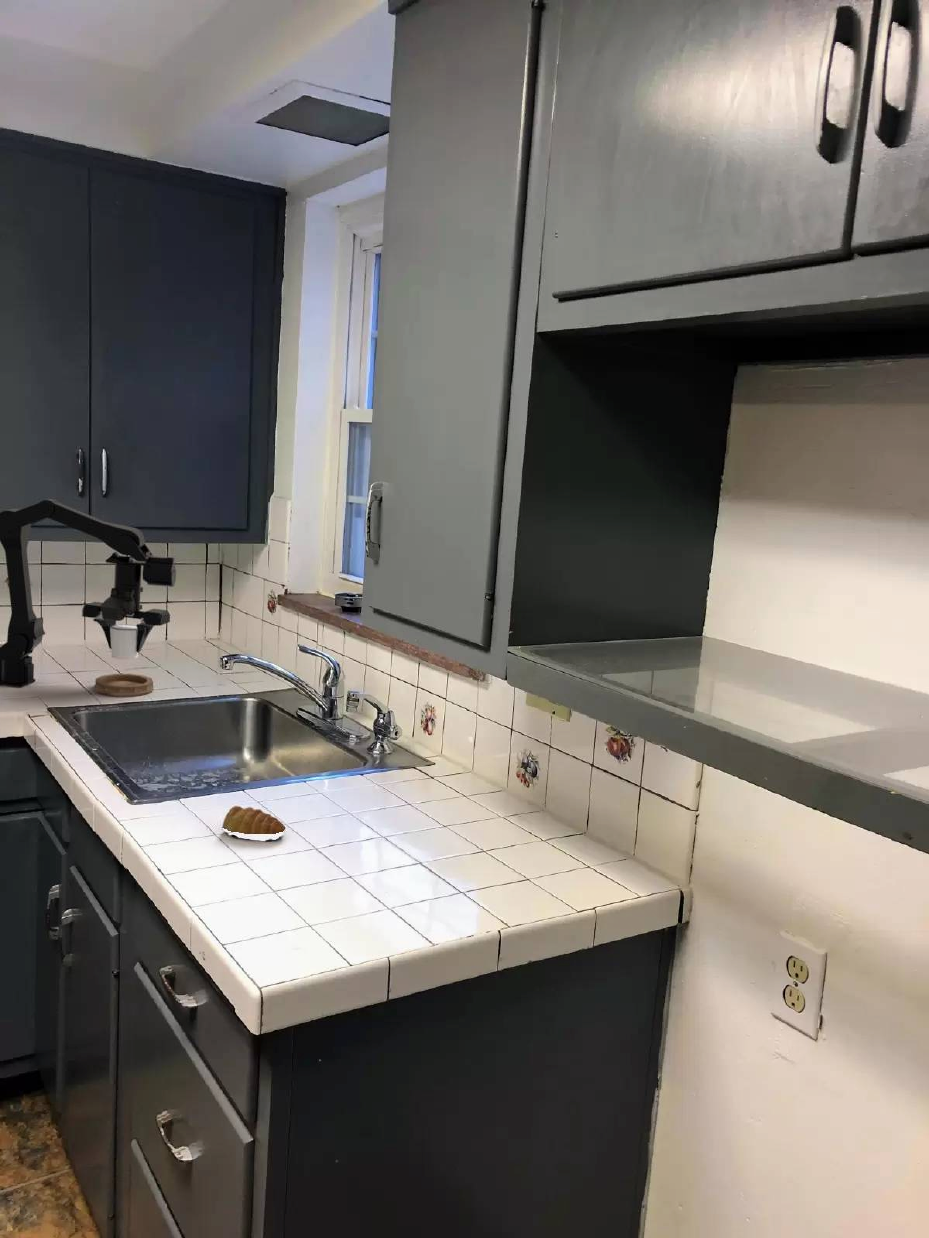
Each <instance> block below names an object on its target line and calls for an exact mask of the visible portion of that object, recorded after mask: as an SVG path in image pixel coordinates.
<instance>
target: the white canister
mask: <svg viewBox="0 0 929 1238" xmlns="http://www.w3.org/2000/svg"><path fill="white" fill-rule="evenodd" d="M137 636H138V629H137V626H136V625H133V624H116V625H113V626H111V627H110V637H111V649H110V650H111V651H110V653H111V658H113V659H118V660H134V659H138V656H139V652H137Z"/></svg>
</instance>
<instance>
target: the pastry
mask: <svg viewBox="0 0 929 1238" xmlns="http://www.w3.org/2000/svg"><path fill="white" fill-rule="evenodd" d="M222 828H224V829H227V830H228V831H231V832H239V833H244V834H276V833H279V832H283V831H284V830H286V826H285V825H284V823H282V822H281V821H280V820H279V819H278V818H277V817H274V816H272V815H271V814H270V813H266V812H263V811H262V809H259V808H258V809H254V808H253V807H250V806H248V807H246V808H243V807H241V806H238V805H234V806H232V807H231V808H230V809H229V811H228V812H227V813H226V815H225V818H224V819H223V823H222V827H221V829H222ZM284 832H285V831H284Z"/></svg>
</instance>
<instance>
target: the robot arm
mask: <svg viewBox="0 0 929 1238" xmlns="http://www.w3.org/2000/svg"><path fill="white" fill-rule="evenodd" d="M46 519H50V520H52V521H55V522H56V523H60V524H62V525H64V526H68V527H70V528H72V529H74V530H77V531H79V532H81V533H84V534H87V535H89V536H91V537H94V538H97V539H98V540H100V542H103V544H105V545H107V547H110V548H111V549H112V550H114V552H112V553H111V555H110V556H109V557H108V558H106V560H105V563H107V564H114V586H113V587H111V590H110V595H109V597H107V598H106V599H105V600H104V601H103V602H101V601H92V602H89V603H85V604H84V606H82V610H81V611H82V613H81V616H82V617H83V618H91V619H92V621H93V622H95V623H98V625H100V627H101V629H102V631H103V633H104V636H105V639H106V641H107V645H108V648H109V649H110V650H111V637H110V627H111V626H113V625H117V622H119V621H121V622H122V621H123V620H124V619H125V618H128V619H134V620H135V619H137V620H140V623H136V625H135V626H137V629H138V636H137V652H138V653H140V652H142V648H143V646H144V645H145V643H146V640H147V638H148V636H149V635H150V633H151V632H152V630H153V628H154V627H156V626H160V627H161V626H163V625H165V624H168V623H170V622H171V614H170V612H169V611H168V610H166V609H160V608H151V609H149V610H146V611H145V610H144V611H143V604H141V593H143V592H144V587H143V586H142V580H143V581H144V582H146V583H147V586H156V587H169V588H174V586H175V584H176V579H177V569H176V561H175V560H176V559H175V557H174V556H154V554H153V553H152V552H151V550H150V549H149V547H148V545H147V544H146V543H145V536H144V534H143V531H141V529H139V528H136V527H131V526H128V525H124V524H118V523H112V522H107V521H106V520H102V519H100V518H97V517H95V516H92V515H90V514H87V513H85V512H83V511H80V510H78V509H75V508H73V507H70V506H68V505H66V504H63V503H62V502H59V501H58V500H56V499H54V498H48V499H44V500H41V501H40V502H38V503H36V504H32V505H30V506H27V507H25V508H13V509H12V508H11V509H7V510H2V511H1V512H0V544H1V547H3V550H4V554H5V563H6V572H7V580H8V581H7V582H8V592H9V593H8V594H9V600H10V601H9V602H10V608H11V609H10V610H11V614H10V618H9V623H8V627H7V637H6V642H5V643H4V644H2V645H1V646H0V685H2V686H10V687H18V688H19V687H20V688H22V687H24V685H25V686H27V685H29V684H31V683H34V682H36V678H34V675H35V674H34V673H35V670H34V669H35V665H34V664H35V663H33V656H32V655H31V656H30V654H32V653H34V652H33V651H34V649H35V648H36V647H38V646H39V645H40V644H41V643H42V641H43V636H45V635H46V632H45V630H44V617H42V616H41V617H37V615H36V614H35V611H34V609H33V598H32V597H33V596H32V589H31V587H32V586H31V578H30V568H29V560H28V559H29V558H28V551H27V550H28V544H29V541H30V537H31V530H32V529H31V528H32V525H34V524H36V523H39V522H41V521H44V520H46ZM141 586H142V587H141ZM26 684H27V685H26Z"/></svg>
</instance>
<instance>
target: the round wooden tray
mask: <svg viewBox="0 0 929 1238" xmlns="http://www.w3.org/2000/svg"><path fill="white" fill-rule="evenodd" d="M154 687H155V686H154V681H153V678H152V677H150V676H146V675H142V674H135V673H112V674H111V673H110V674H106V675H105V674H104V675H100V676H98V677H96V678H95V684H94V687H93V688H94V689H93V690H94V692H96V693H97V694H99V693H100V694H99V695H102V696H107V695H109V696H108V697H117V698H119V697H121V698H128V697H129V698H130V697H141V696H147V695H149V694H151V693H153V692H154ZM152 691H153V692H152Z"/></svg>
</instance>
